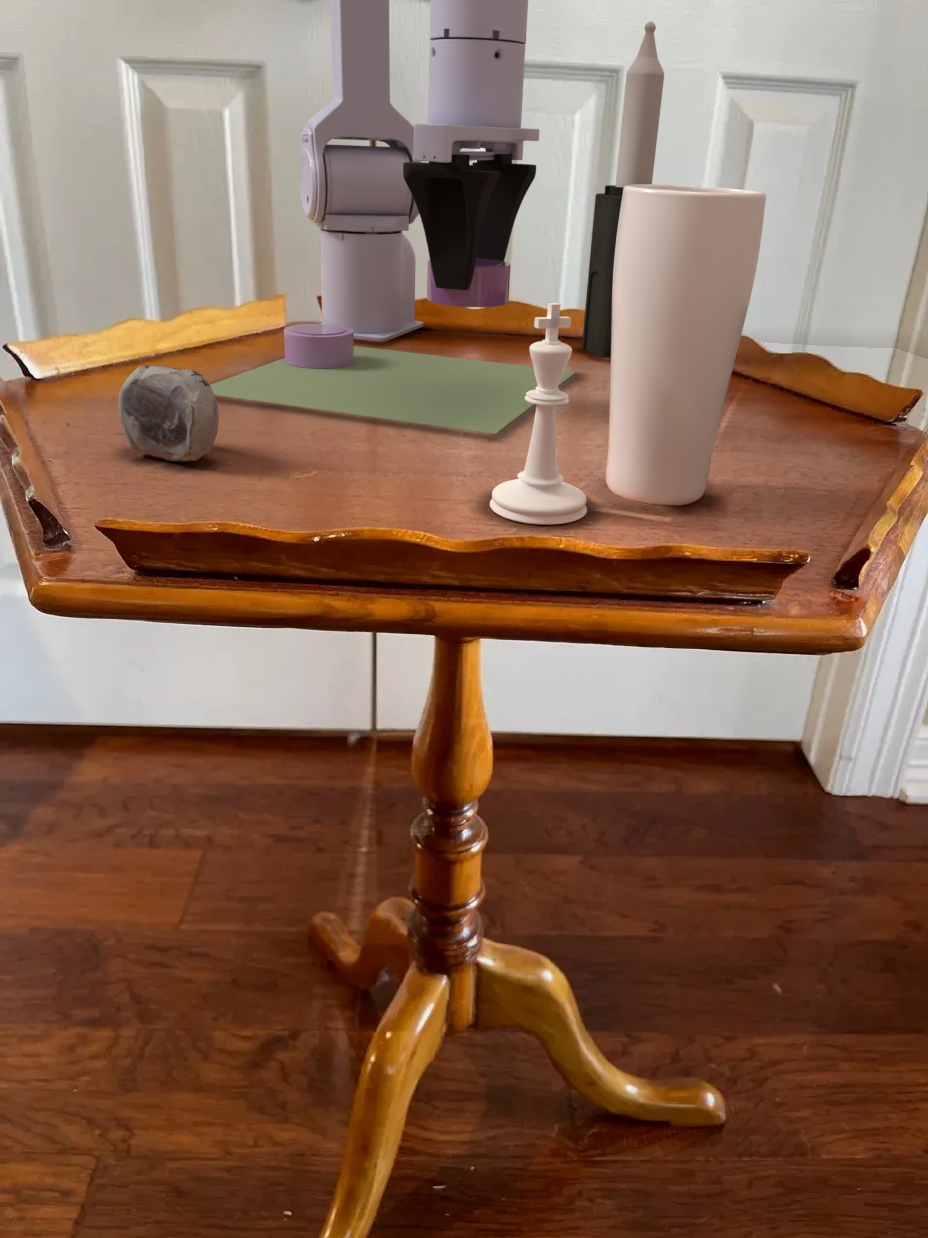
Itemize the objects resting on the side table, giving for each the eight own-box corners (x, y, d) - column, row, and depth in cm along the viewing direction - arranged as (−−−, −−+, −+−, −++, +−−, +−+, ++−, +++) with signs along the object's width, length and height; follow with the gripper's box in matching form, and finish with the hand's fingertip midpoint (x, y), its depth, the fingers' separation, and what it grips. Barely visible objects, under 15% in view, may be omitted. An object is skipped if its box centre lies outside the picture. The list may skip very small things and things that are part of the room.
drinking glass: (580, 472, 56) (608, 181, 49) (698, 474, 56) (741, 187, 50) (604, 514, 50) (640, 189, 43) (735, 516, 50) (790, 196, 44)
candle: (577, 348, 88) (606, 21, 77) (629, 347, 89) (665, 26, 78) (601, 361, 84) (635, 15, 73) (655, 359, 85) (697, 21, 74)
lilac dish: (305, 351, 81) (304, 320, 80) (365, 358, 79) (365, 327, 78) (271, 363, 76) (270, 330, 75) (334, 371, 75) (334, 338, 74)
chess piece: (604, 519, 49) (627, 311, 45) (513, 529, 47) (528, 313, 43) (559, 488, 53) (576, 294, 49) (474, 496, 51) (484, 296, 47)
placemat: (326, 345, 85) (326, 342, 85) (575, 375, 78) (576, 371, 78) (191, 395, 68) (191, 391, 68) (495, 438, 61) (495, 433, 61)
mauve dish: (444, 291, 68) (445, 253, 67) (519, 298, 67) (521, 260, 66) (414, 302, 64) (414, 261, 63) (493, 310, 62) (495, 268, 61)
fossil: (107, 455, 55) (96, 364, 53) (146, 440, 58) (137, 353, 56) (204, 472, 53) (197, 379, 51) (240, 456, 56) (234, 367, 54)
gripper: (503, 31, 51) (490, 303, 57) (573, 54, 64) (556, 275, 70) (379, 30, 53) (379, 292, 59) (470, 52, 66) (462, 267, 72)
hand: (468, 283), depth 65 cm, fingers closed on mauve dish, 5 cm apart
